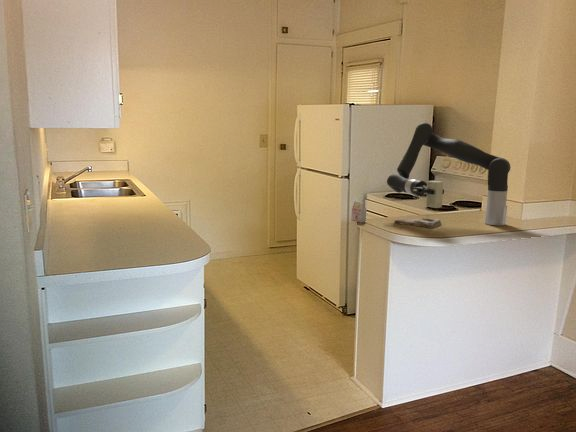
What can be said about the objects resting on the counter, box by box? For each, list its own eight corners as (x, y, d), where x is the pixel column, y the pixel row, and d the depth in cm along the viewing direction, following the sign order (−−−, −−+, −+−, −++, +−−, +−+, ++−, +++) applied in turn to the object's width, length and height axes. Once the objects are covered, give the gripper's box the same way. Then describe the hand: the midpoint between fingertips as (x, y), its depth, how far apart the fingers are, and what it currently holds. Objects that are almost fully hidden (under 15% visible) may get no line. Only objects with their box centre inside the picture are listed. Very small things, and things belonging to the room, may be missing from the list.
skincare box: (442, 207, 239) (443, 181, 236) (435, 208, 236) (437, 182, 234) (431, 205, 244) (433, 180, 242) (425, 206, 242) (426, 180, 239)
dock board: (441, 224, 256) (441, 220, 256) (432, 228, 247) (432, 223, 247) (404, 219, 268) (404, 215, 268) (394, 222, 259) (394, 218, 259)
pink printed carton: (356, 219, 266) (357, 200, 264) (365, 222, 261) (366, 202, 259) (351, 220, 264) (352, 201, 262) (360, 222, 258) (361, 203, 257)
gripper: (404, 180, 248) (426, 184, 233) (428, 179, 254) (451, 183, 238) (403, 195, 250) (425, 200, 234) (427, 194, 255) (450, 199, 240)
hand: (438, 192), depth 236 cm, fingers closed on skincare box, 5 cm apart
